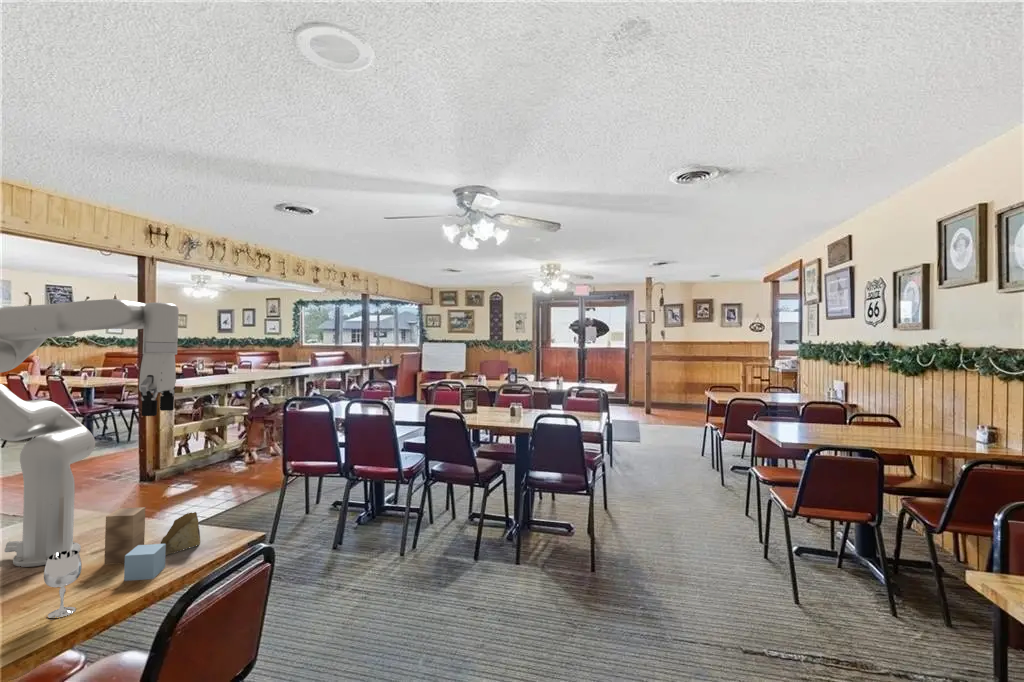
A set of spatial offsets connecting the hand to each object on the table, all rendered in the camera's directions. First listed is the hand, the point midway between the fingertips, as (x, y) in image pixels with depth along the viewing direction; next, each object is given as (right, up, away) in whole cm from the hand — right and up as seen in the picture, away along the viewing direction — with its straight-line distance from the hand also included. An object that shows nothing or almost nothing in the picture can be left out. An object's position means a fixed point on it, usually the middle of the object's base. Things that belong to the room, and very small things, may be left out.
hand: (158, 413), depth 131 cm
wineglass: (+2, -37, -30) cm, 48 cm away
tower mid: (-5, -31, -5) cm, 31 cm away
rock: (+5, -37, +1) cm, 37 cm away
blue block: (+6, -37, -13) cm, 40 cm away
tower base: (-5, -37, -5) cm, 37 cm away
